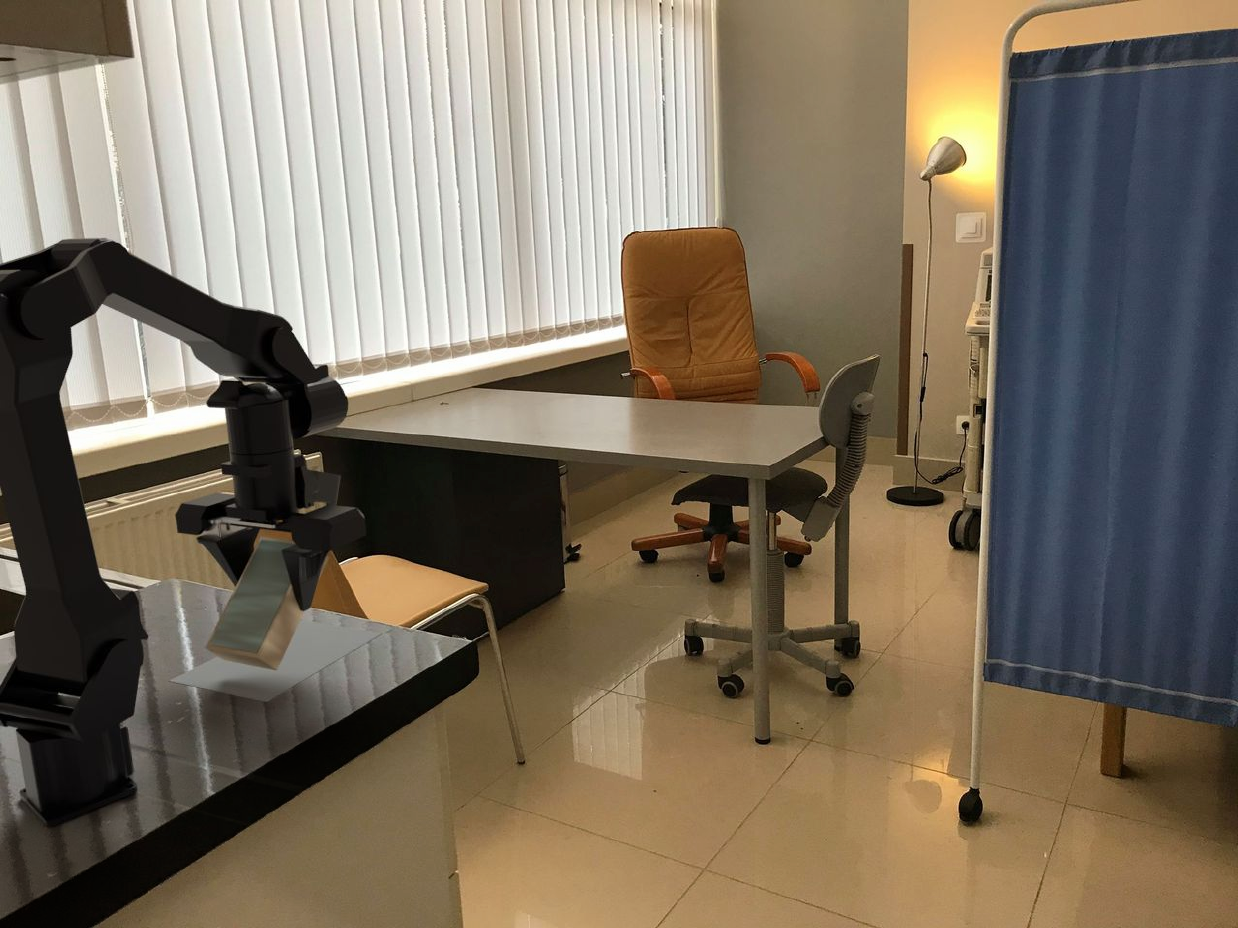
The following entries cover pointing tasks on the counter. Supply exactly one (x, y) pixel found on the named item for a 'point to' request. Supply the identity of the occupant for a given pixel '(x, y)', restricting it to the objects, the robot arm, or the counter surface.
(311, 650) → the mat
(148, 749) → the counter surface
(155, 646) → the counter surface
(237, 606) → the tile
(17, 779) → the counter surface
